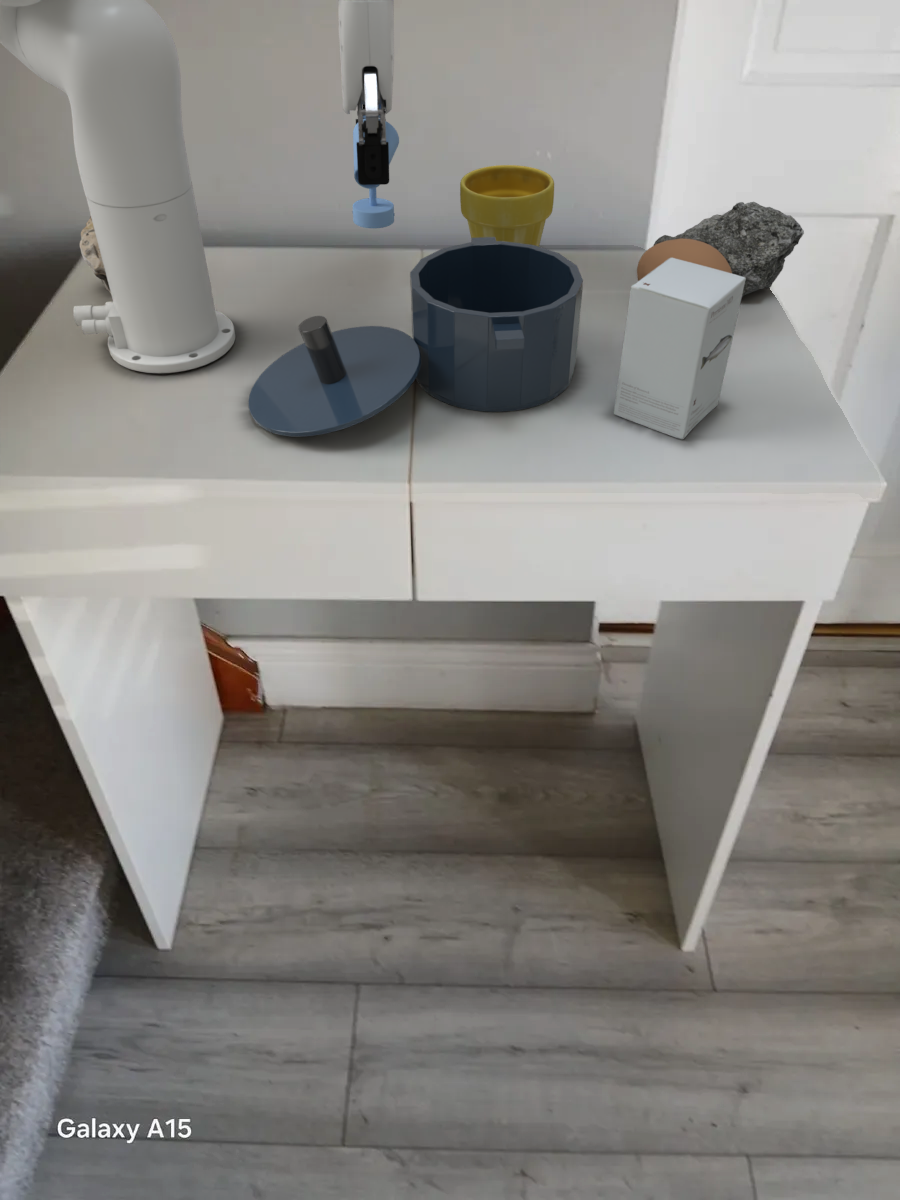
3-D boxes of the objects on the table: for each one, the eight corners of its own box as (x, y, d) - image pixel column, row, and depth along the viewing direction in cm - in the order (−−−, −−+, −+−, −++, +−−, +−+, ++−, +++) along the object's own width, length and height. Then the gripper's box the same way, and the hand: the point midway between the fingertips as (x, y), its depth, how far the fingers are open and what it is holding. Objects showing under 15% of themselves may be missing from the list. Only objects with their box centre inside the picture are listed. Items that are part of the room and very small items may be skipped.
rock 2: (635, 256, 107) (663, 270, 116) (720, 329, 104) (742, 338, 112) (715, 152, 101) (738, 175, 110) (807, 226, 98) (823, 243, 107)
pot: (420, 432, 86) (417, 335, 80) (408, 322, 102) (405, 233, 95) (592, 423, 87) (603, 327, 81) (554, 315, 103) (561, 227, 96)
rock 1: (137, 242, 113) (64, 210, 105) (181, 224, 109) (109, 189, 101) (140, 315, 113) (67, 289, 104) (184, 299, 109) (112, 271, 100)
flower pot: (446, 256, 114) (446, 170, 107) (526, 242, 116) (531, 158, 110) (480, 292, 107) (481, 203, 100) (564, 277, 109) (571, 189, 103)
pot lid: (249, 462, 84) (218, 400, 80) (255, 365, 96) (228, 306, 91) (432, 409, 83) (410, 343, 78) (414, 318, 94) (395, 255, 90)
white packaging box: (683, 442, 85) (709, 308, 76) (610, 415, 88) (627, 283, 80) (720, 406, 89) (749, 276, 81) (649, 381, 93) (669, 253, 84)
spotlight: (358, 206, 109) (346, 229, 104) (354, 110, 102) (340, 130, 97) (401, 208, 108) (391, 232, 103) (400, 113, 102) (389, 133, 96)
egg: (757, 248, 98) (668, 222, 104) (716, 260, 93) (626, 232, 99) (738, 321, 102) (654, 292, 108) (699, 336, 98) (613, 305, 104)
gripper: (326, -43, 97) (337, 145, 109) (324, -7, 84) (337, 201, 96) (401, -42, 97) (404, 144, 109) (410, -7, 84) (412, 200, 96)
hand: (372, 169), depth 102 cm, fingers closed on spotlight, 7 cm apart
